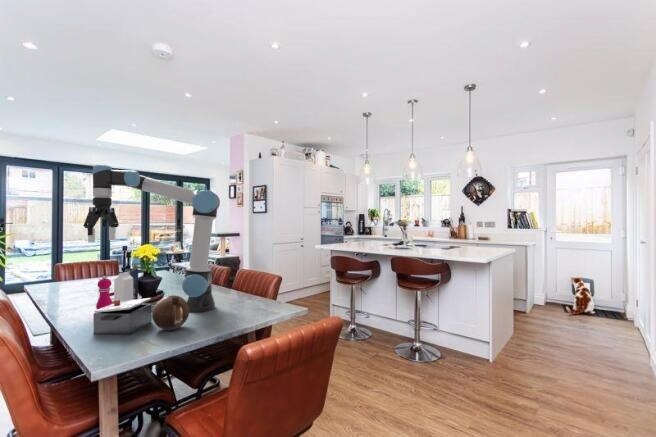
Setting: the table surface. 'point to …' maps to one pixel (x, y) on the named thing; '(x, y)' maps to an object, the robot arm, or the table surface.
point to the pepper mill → (104, 293)
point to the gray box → (122, 320)
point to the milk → (123, 287)
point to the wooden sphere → (170, 312)
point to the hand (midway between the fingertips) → (102, 241)
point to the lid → (123, 305)
